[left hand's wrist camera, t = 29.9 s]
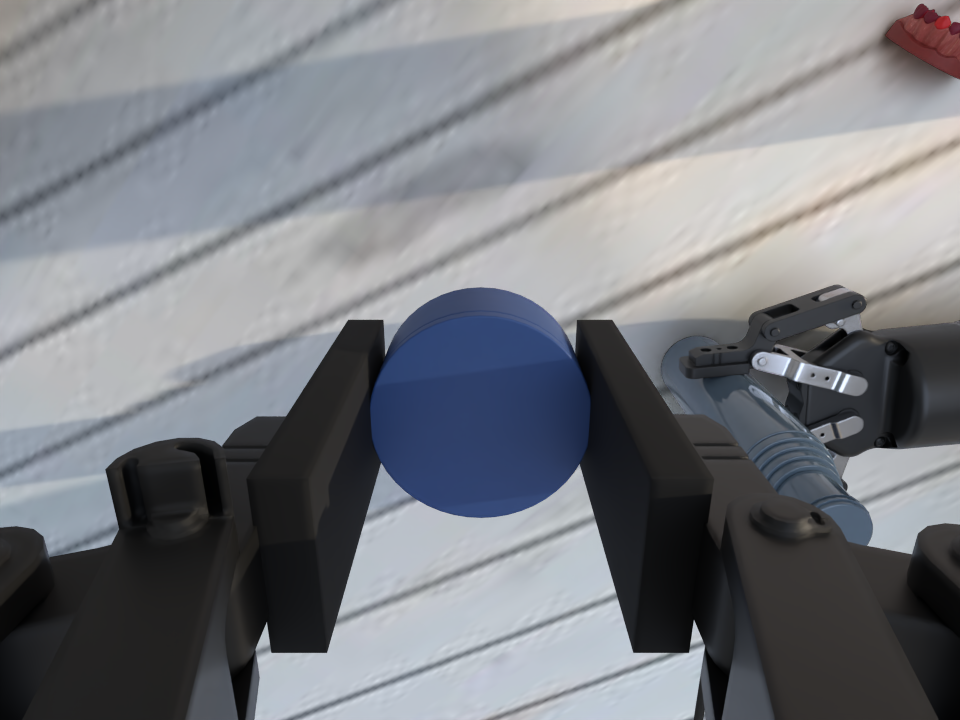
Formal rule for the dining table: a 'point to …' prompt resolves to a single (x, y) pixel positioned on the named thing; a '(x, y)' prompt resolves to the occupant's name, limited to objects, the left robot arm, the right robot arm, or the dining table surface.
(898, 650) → the left robot arm
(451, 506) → the cap
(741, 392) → the bottle
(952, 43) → the dental model
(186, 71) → the dining table surface
